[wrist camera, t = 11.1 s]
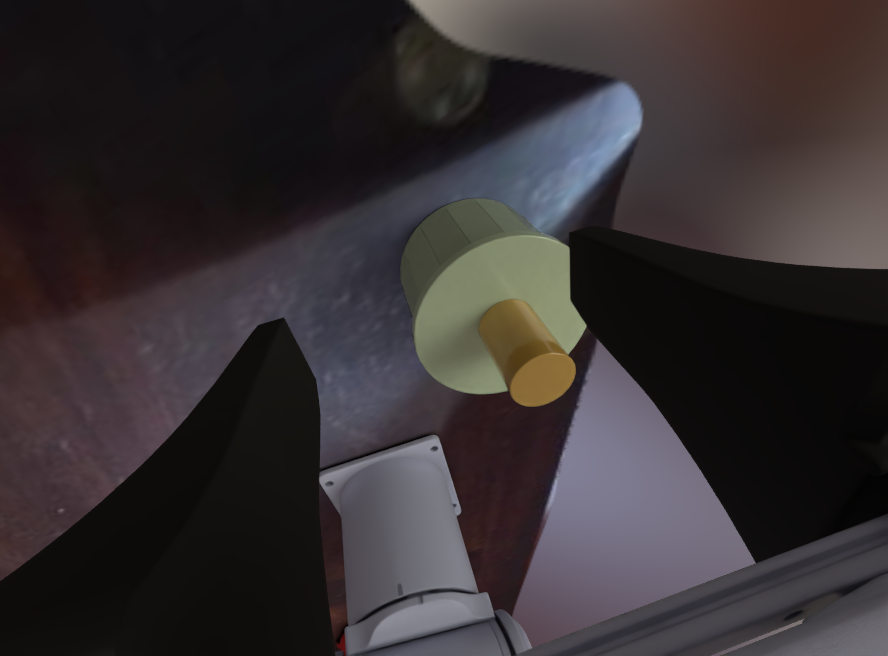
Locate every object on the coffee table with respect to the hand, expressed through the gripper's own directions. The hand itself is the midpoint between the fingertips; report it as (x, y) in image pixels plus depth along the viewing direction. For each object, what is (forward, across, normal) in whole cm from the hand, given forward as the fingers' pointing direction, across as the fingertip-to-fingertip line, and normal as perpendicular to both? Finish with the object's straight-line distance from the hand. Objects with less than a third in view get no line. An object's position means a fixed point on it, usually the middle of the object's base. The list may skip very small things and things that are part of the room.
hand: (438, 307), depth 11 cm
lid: (+5, -3, +5) cm, 8 cm away
